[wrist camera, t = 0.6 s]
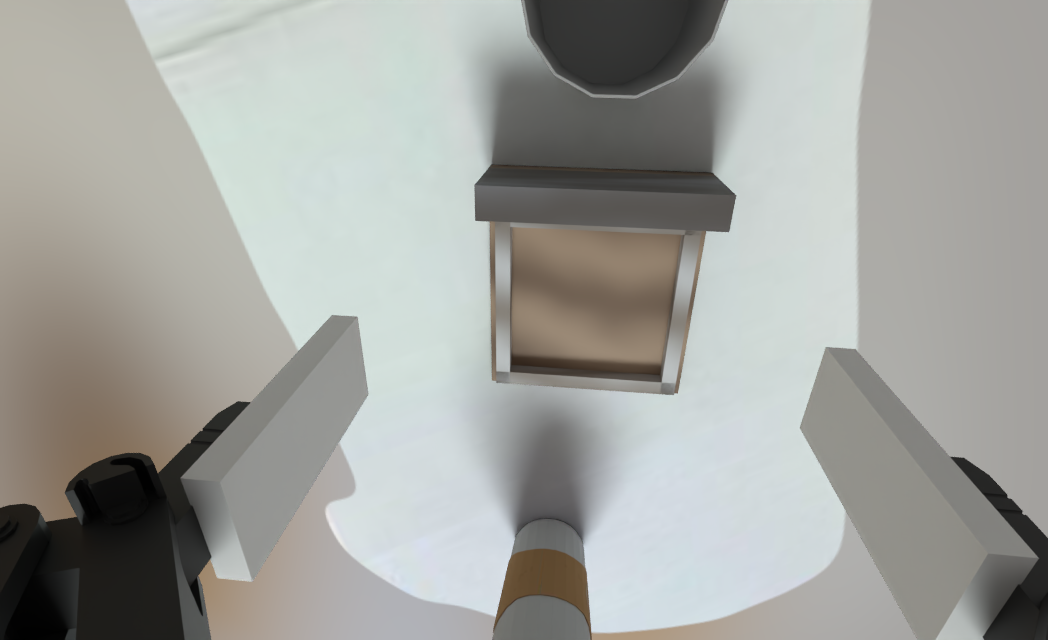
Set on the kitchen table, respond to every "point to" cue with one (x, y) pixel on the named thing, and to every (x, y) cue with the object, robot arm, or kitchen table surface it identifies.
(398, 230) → the kitchen table surface
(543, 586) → the coffee cup
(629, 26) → the cup
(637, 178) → the brown flat tray-like piece
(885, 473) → the robot arm
